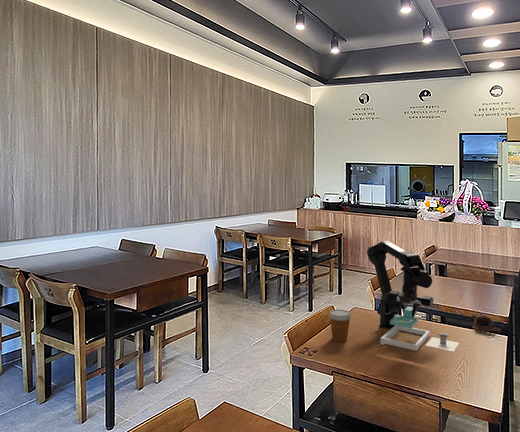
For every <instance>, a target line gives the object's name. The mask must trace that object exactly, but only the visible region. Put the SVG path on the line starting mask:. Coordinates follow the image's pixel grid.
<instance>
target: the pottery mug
mask: <svg viewBox="0 0 520 432" xmlns="http://www.w3.org/2000/svg"><path fill="white" fill-rule="evenodd" d="M469 320H470V322H471V323H472V324H473V327H474V331H475V332H478V333H488V332H492V331H493V330H495V327H494V326H495V323H494V321H493V320H492V319H491V318H490V317H489V316H488V315H487V316H486V315H478V316H476V315H474V314H472V315H471V316H470V318H469Z"/></svg>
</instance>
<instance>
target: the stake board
mask: <svg viewBox="0 0 520 432" xmlns="http://www.w3.org/2000/svg"><path fill="white" fill-rule="evenodd" d="M449 335H450V334H448V333H443V332H438V333H437V336H439V338H438V337H433V336H432V337H431V338H430V340H429V341H427V343H426V344H425V346H426V347H431V348H436V349H440V350H443V351H444V350H445V351H450V352H454V353H455V350H456V349H457V348H458V346H459V344H460V342H457V341H452V340H449V339H447V338H449Z"/></svg>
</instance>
